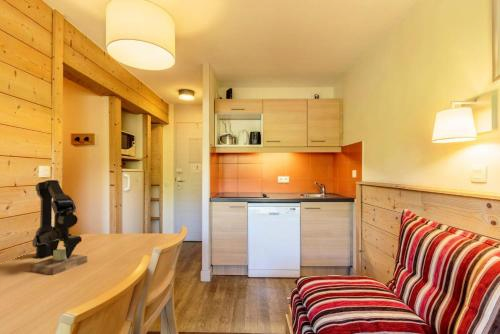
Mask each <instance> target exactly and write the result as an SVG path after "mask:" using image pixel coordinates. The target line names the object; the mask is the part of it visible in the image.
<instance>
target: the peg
mask: <svg viewBox="0 0 500 334" xmlns="http://www.w3.org/2000/svg"><path fill="white" fill-rule="evenodd" d="M52 258H53V262H57V263H60V262H62V261H65V260H68V258H66V248H65V247H60V248H57V250H53V256H52Z"/></svg>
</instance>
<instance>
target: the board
mask: <svg viewBox="0 0 500 334" xmlns="http://www.w3.org/2000/svg"><path fill="white" fill-rule="evenodd" d="M86 263H88V255H81V254H71V255H70V257H69V258H68V260H65V261H62V262H60V263H57V262H53V257H51V258H47V259H45V260H44V259H43V260H40V261H37V262H34V263H31V264H30V272H32V273H38V274H45V275H52V276H54V275H57V274H59V273H60V274H61V273H63V272H66V271H68V270H70V269H73V268H75V267H79V266H81V265H84V264H86Z"/></svg>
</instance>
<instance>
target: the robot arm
mask: <svg viewBox="0 0 500 334" xmlns="http://www.w3.org/2000/svg"><path fill="white" fill-rule="evenodd" d="M35 191H36V194H37V196H38V197H39V198H40V217H39V218H40V221H39V227H38V228H37V229H36V231H35V235H34V237H33V240H32V241H31V244H32V247H34V248H36V249H35V255H34V256H32V258H34V259H40V260H41V259H45V258H48V257H53V250H57V249H58V248H59V247H58V246H59V244H60V242H63V245H62V246H63V248H66V258H69V257H70V255H71V254H72V253H73V252H74V250H75V248H76V247H77V245H78V244H80V243H81V242H82V236H80V235H72V233H70V229H71V228H72V227H75V225H76V224H77V223H78V221H79V218H78V217H77V215H75V214H74V213H76V209H77V207H76V204H75V201H74V200H73V199H72V198H71V196H70V195H67V194H65V192H64V191H63V189H62V187H61V186H60V181H59V180H58V179H48V180H45V181H41V182H38V183H36V185H35ZM52 210H53V211H52ZM52 212H53V213H54V223H53V224H54V226H52V220H53V219H52V215H53V214H52Z"/></svg>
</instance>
